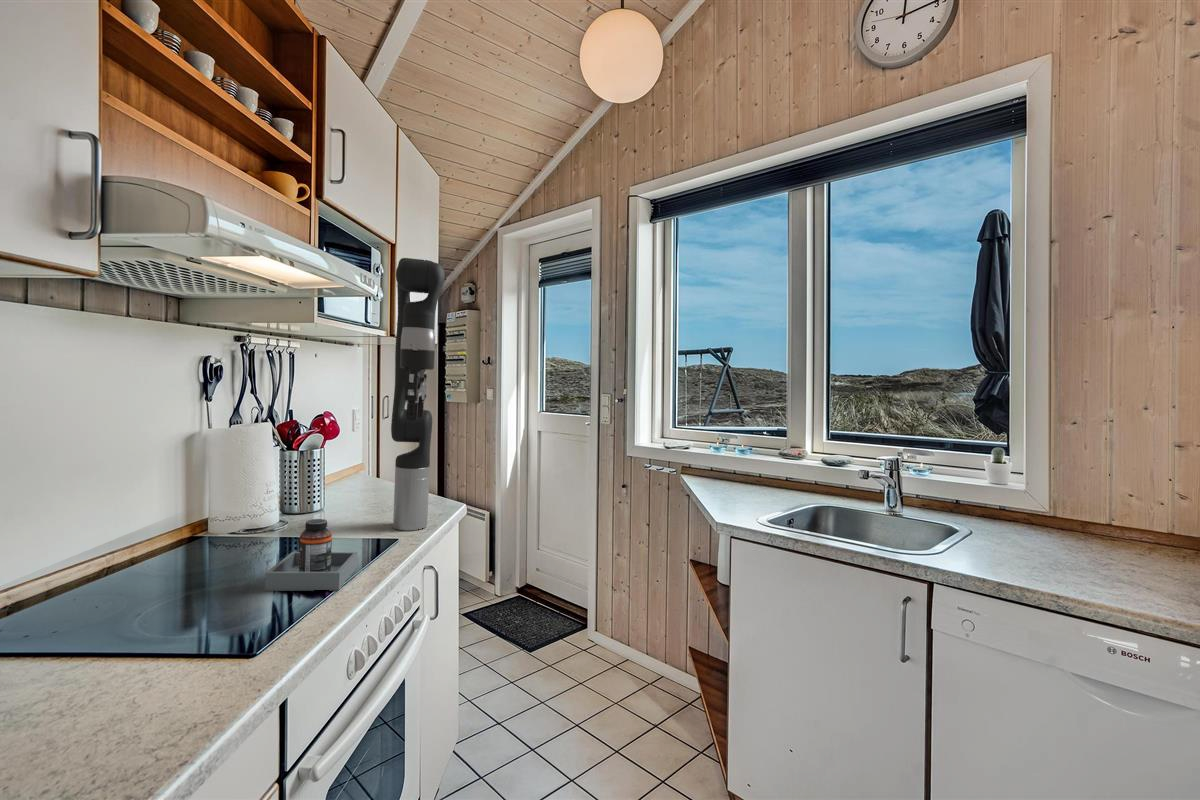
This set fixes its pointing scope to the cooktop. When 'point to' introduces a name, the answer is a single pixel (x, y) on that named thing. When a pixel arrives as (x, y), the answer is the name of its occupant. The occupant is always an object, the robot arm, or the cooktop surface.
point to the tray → (310, 574)
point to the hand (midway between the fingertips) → (415, 418)
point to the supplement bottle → (315, 547)
